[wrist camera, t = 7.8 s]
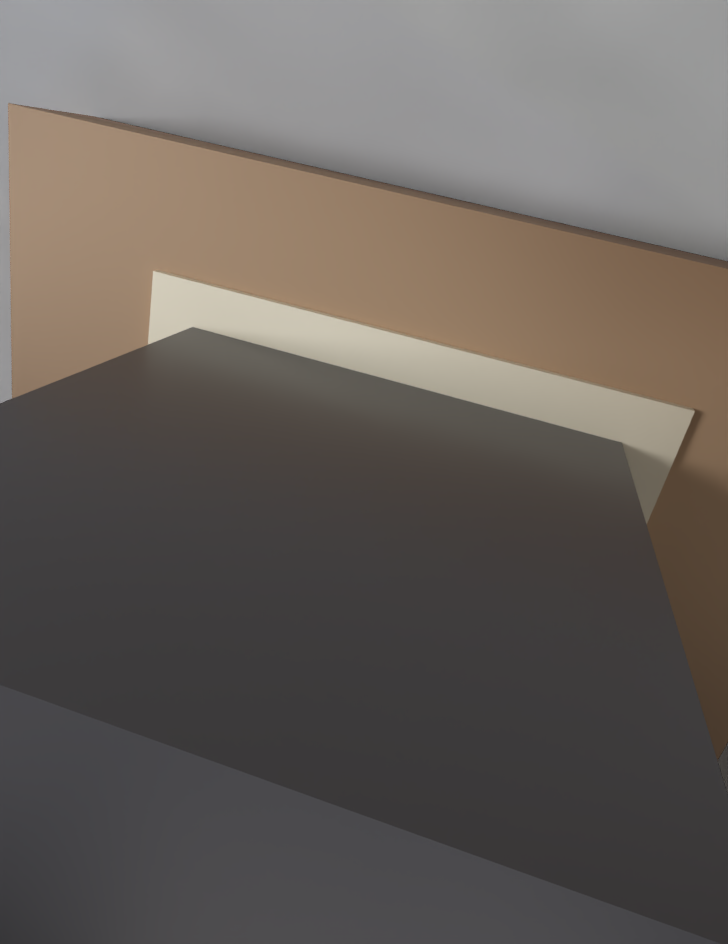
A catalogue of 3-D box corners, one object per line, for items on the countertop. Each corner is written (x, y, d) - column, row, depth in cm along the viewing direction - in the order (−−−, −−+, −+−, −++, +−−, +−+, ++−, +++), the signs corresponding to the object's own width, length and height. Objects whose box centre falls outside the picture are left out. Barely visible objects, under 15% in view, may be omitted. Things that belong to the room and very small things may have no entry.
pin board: (535, 982, 12) (534, 1089, 11) (71, 806, 13) (14, 881, 12) (887, 298, 7) (973, 326, 6) (95, 117, 8) (1, 101, 7)
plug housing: (420, 962, 10) (321, 1575, 6) (140, 855, 11) (-149, 1332, 6) (621, 441, 7) (778, 965, 2) (192, 326, 7) (-373, 551, 3)
